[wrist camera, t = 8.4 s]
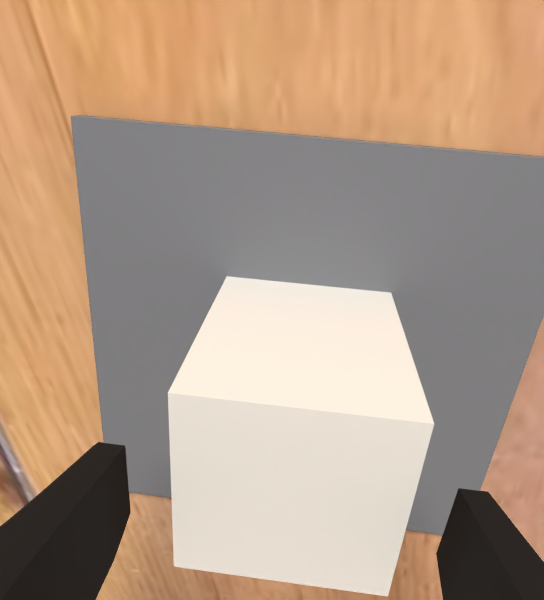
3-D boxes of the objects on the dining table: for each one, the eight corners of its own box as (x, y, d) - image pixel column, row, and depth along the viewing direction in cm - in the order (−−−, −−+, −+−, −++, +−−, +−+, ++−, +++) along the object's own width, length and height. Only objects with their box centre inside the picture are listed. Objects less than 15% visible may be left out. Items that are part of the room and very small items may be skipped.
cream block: (223, 407, 16) (174, 566, 11) (226, 276, 14) (167, 393, 9) (365, 424, 16) (387, 596, 11) (391, 292, 14) (434, 424, 9)
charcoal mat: (113, 479, 19) (108, 489, 19) (79, 115, 13) (70, 116, 13) (459, 526, 18) (462, 537, 18) (588, 160, 12) (598, 163, 12)
